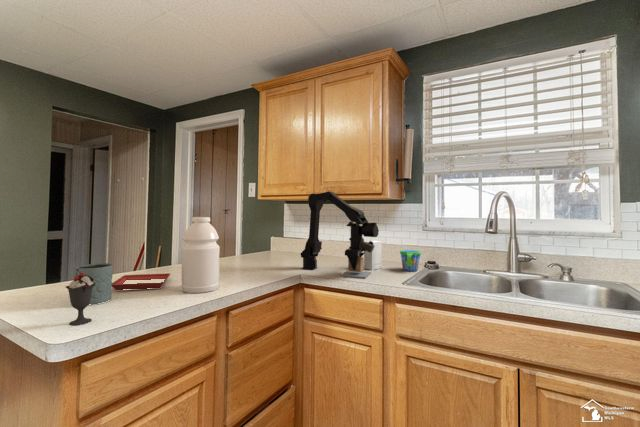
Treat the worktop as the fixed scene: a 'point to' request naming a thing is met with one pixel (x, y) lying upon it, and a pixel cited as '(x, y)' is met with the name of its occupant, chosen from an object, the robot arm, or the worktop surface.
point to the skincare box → (373, 257)
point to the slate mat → (355, 274)
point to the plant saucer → (120, 286)
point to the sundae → (80, 296)
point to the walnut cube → (357, 265)
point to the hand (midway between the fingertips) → (355, 268)
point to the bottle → (200, 257)
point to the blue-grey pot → (99, 280)
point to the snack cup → (410, 259)
